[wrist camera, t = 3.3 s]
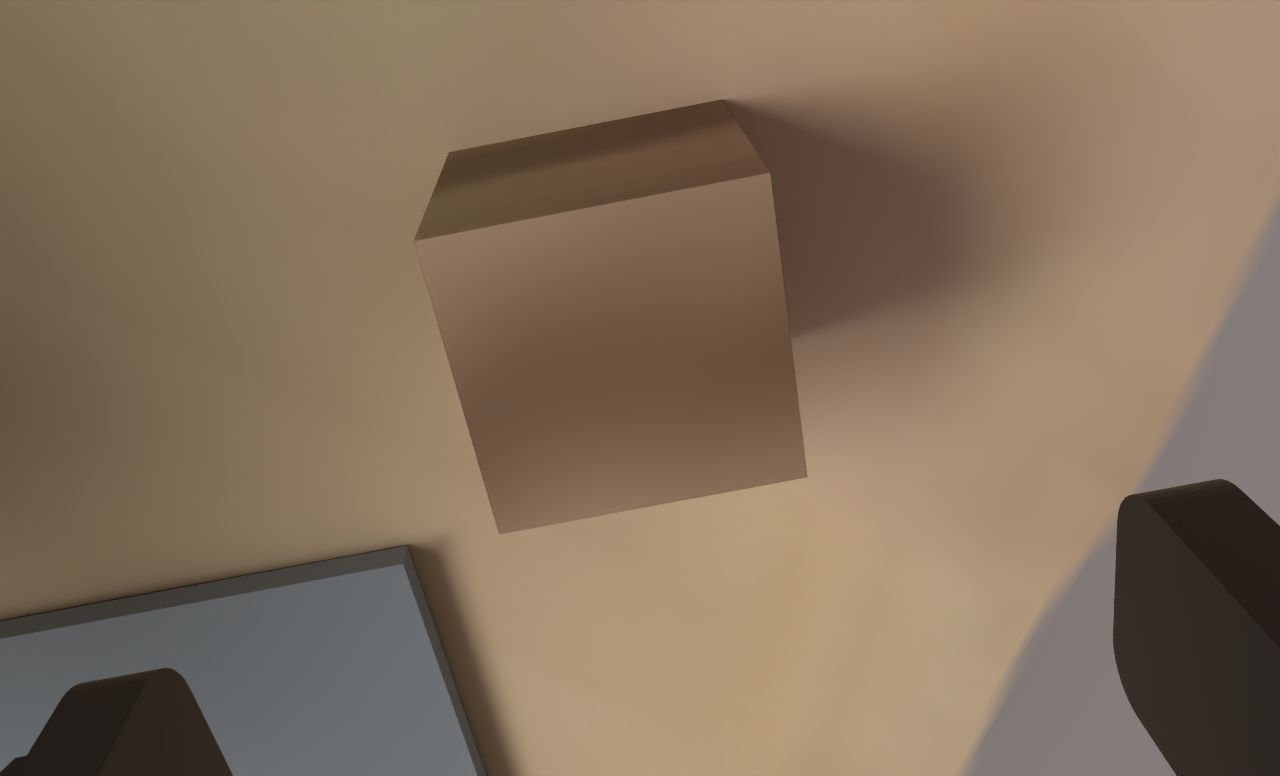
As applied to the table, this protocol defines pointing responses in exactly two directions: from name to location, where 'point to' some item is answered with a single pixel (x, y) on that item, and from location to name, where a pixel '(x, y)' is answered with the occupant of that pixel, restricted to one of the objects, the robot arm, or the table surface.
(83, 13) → the table surface
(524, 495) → the walnut cube
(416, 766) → the mat
